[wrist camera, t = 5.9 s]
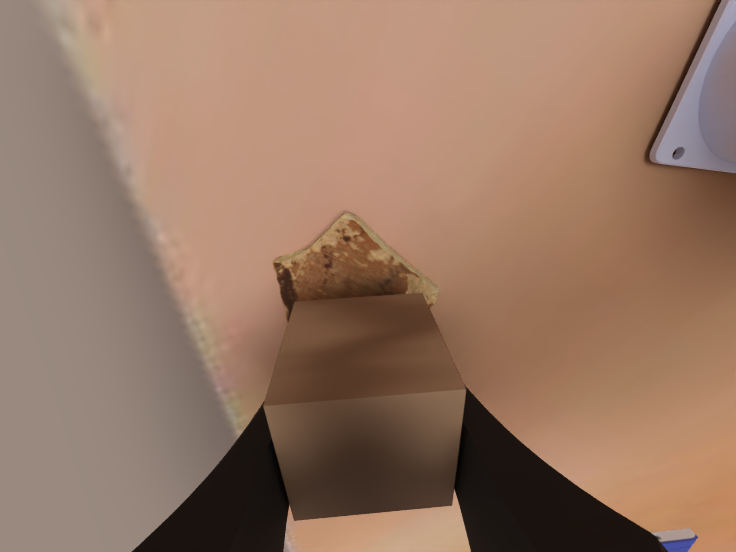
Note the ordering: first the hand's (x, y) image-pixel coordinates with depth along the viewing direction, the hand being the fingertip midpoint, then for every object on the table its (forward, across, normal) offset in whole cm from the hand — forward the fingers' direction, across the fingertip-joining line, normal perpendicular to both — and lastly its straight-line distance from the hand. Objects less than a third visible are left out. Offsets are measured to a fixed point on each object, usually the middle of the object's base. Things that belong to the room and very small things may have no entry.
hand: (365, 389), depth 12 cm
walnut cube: (+2, 0, -1) cm, 2 cm away
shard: (+6, 0, 0) cm, 6 cm away
